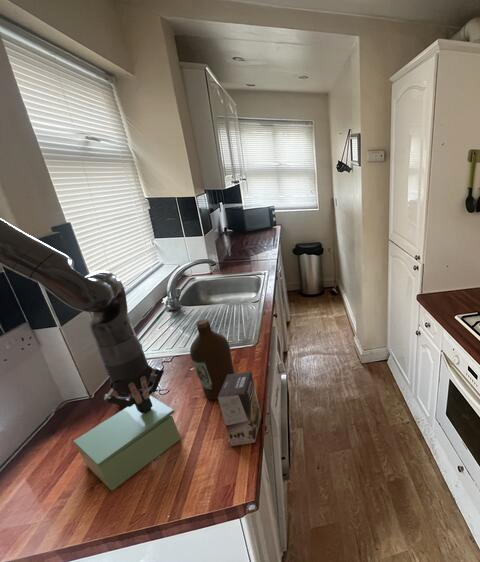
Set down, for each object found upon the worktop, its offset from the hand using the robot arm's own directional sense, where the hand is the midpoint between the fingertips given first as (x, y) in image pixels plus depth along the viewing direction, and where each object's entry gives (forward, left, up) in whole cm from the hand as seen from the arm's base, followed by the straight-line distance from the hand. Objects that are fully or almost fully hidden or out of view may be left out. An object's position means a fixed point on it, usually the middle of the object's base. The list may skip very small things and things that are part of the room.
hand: (146, 410), depth 79 cm
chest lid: (-5, 0, -1) cm, 5 cm away
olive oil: (+20, +1, -10) cm, 22 cm away
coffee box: (+13, -20, -10) cm, 26 cm away
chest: (-5, 0, -9) cm, 11 cm away
